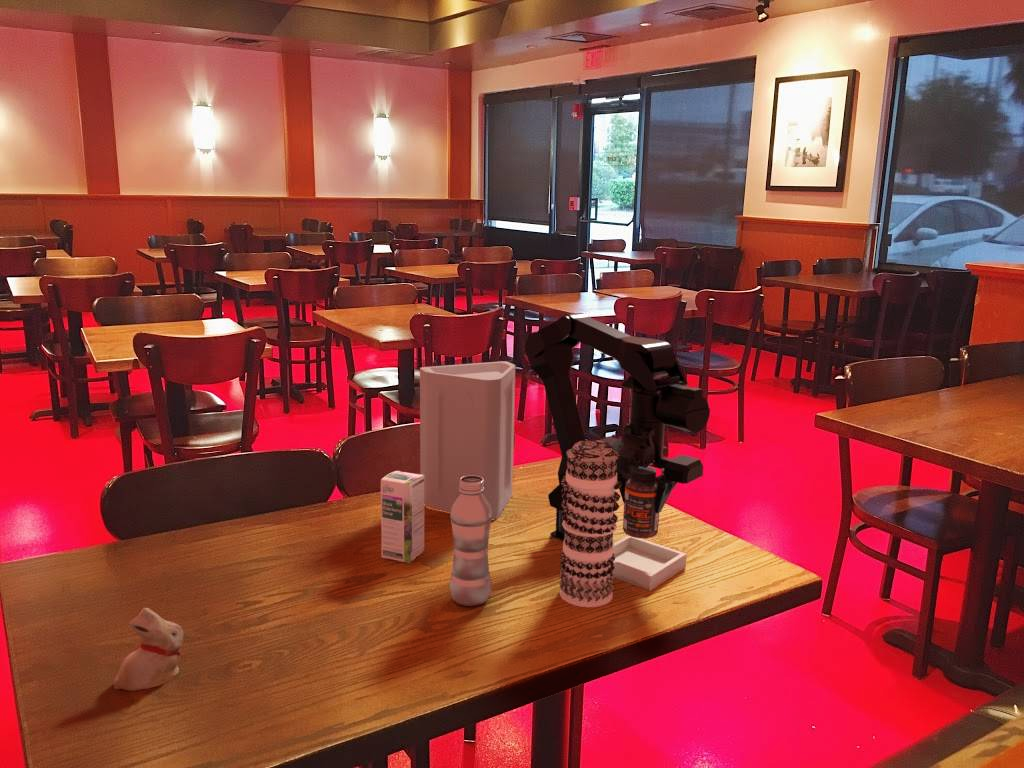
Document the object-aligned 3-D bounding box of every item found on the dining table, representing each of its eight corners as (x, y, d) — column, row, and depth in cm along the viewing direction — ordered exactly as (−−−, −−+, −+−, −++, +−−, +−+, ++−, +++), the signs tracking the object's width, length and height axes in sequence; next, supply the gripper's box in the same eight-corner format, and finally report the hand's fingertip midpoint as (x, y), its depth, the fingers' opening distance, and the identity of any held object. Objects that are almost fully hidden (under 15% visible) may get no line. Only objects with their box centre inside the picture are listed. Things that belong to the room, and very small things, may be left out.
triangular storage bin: (445, 527, 155) (445, 383, 148) (419, 501, 168) (418, 367, 162) (535, 513, 163) (539, 375, 157) (503, 488, 176) (506, 361, 170)
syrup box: (380, 558, 142) (378, 479, 138) (397, 545, 147) (396, 468, 144) (409, 564, 139) (408, 484, 136) (425, 551, 145) (425, 473, 141)
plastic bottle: (497, 594, 130) (499, 475, 125) (481, 614, 123) (483, 489, 119) (459, 587, 132) (460, 469, 127) (442, 607, 125) (442, 483, 121)
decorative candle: (582, 575, 137) (589, 431, 131) (626, 595, 130) (635, 445, 125) (545, 593, 131) (550, 443, 125) (589, 614, 124) (597, 457, 118)
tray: (591, 568, 139) (591, 554, 139) (628, 547, 148) (629, 534, 147) (649, 590, 132) (650, 576, 132) (685, 567, 141) (686, 553, 140)
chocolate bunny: (175, 690, 103) (169, 618, 101) (110, 692, 103) (103, 619, 101) (188, 665, 109) (183, 597, 107) (127, 667, 108) (120, 598, 106)
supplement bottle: (621, 538, 136) (624, 473, 134) (623, 524, 142) (626, 462, 139) (657, 541, 135) (661, 476, 133) (658, 527, 141) (662, 464, 138)
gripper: (572, 416, 134) (568, 506, 138) (672, 440, 122) (665, 537, 126) (610, 404, 142) (606, 489, 146) (708, 425, 130) (700, 517, 134)
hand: (641, 507), depth 138 cm, fingers closed on supplement bottle, 6 cm apart
